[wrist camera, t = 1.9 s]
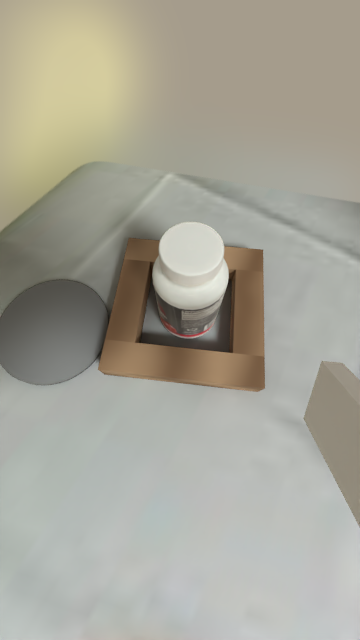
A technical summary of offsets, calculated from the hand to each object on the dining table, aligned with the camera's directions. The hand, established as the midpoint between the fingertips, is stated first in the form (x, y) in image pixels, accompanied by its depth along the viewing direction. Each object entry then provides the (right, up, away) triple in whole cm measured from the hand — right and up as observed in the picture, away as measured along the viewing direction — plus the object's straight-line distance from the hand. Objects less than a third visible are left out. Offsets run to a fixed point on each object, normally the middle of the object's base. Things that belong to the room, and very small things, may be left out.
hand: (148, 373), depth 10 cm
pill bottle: (+2, +3, +14) cm, 15 cm away
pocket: (+2, +3, +14) cm, 14 cm away
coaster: (-10, +1, +14) cm, 17 cm away
